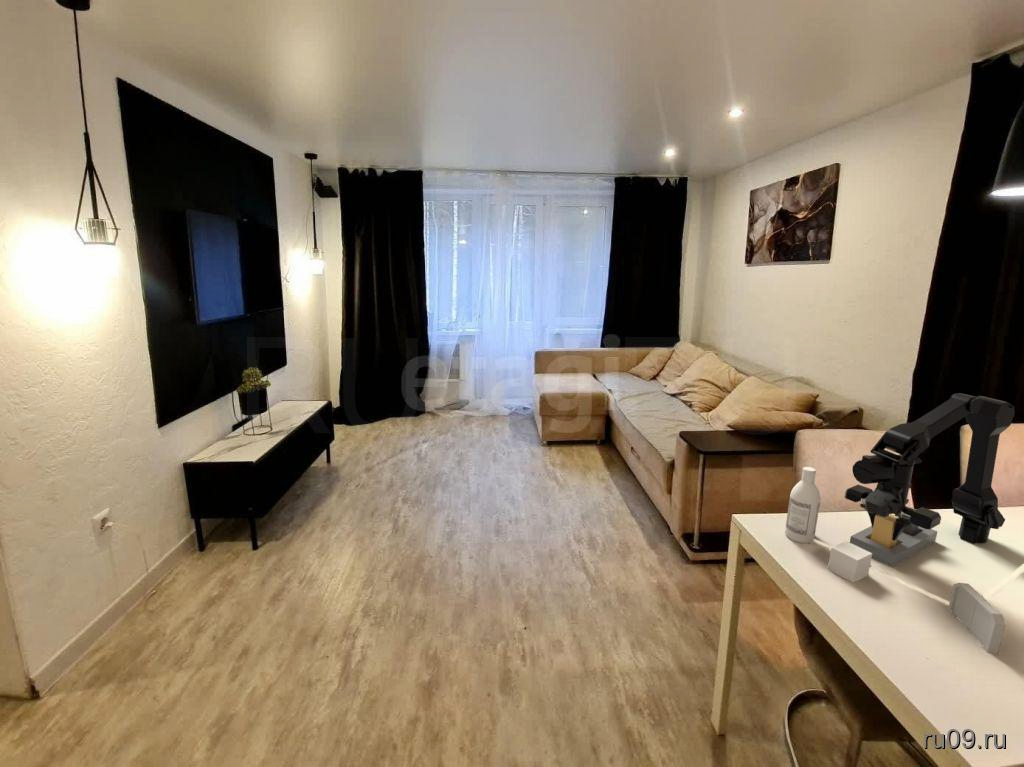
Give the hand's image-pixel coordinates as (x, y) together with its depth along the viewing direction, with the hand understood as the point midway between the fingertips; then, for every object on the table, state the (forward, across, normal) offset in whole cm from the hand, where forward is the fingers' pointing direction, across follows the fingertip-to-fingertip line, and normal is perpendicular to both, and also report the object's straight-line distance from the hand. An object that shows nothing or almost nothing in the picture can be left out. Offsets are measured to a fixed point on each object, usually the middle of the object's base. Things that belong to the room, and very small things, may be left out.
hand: (884, 536), depth 125 cm
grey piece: (+5, 0, +6) cm, 7 cm away
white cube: (+5, 0, -16) cm, 16 cm away
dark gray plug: (+4, 0, +11) cm, 12 cm away
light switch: (+5, +23, -14) cm, 28 cm away
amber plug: (+2, 0, 0) cm, 3 cm away
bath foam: (+5, -15, -11) cm, 19 cm away
